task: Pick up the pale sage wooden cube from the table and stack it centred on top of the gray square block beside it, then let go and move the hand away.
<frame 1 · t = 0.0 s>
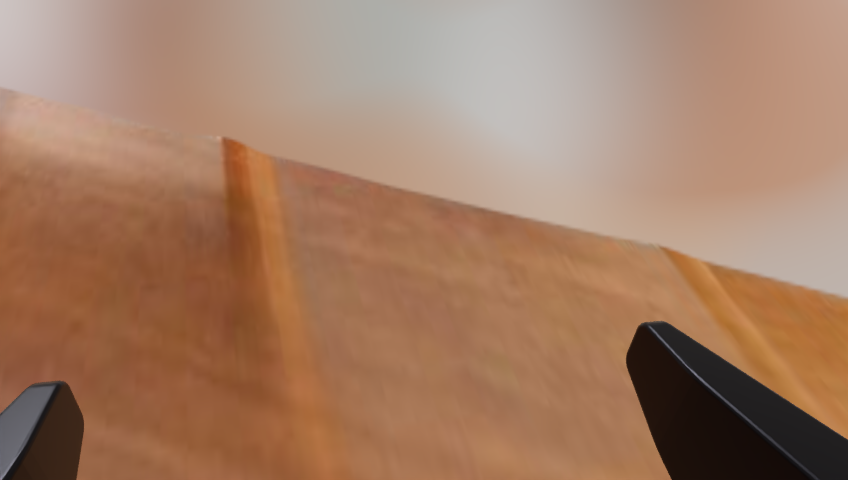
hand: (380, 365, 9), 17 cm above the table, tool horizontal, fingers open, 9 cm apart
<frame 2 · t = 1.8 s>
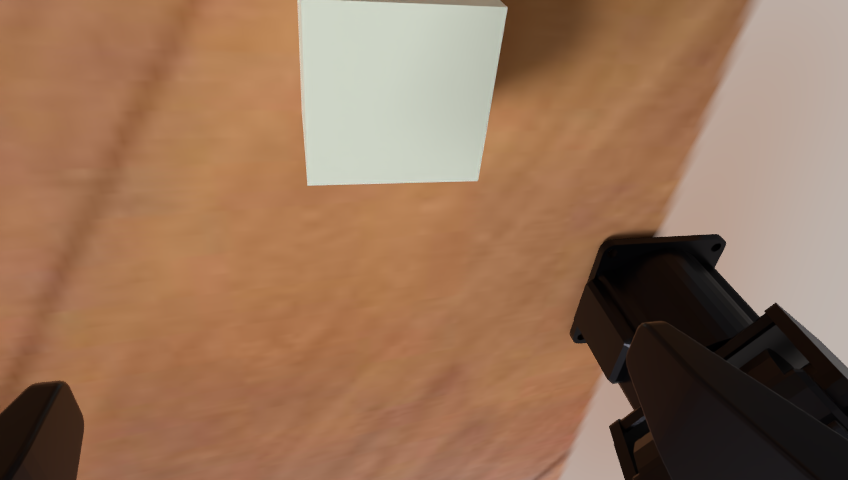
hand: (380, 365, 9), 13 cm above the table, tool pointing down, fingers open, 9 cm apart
sage cube: (376, 39, 19), on the table
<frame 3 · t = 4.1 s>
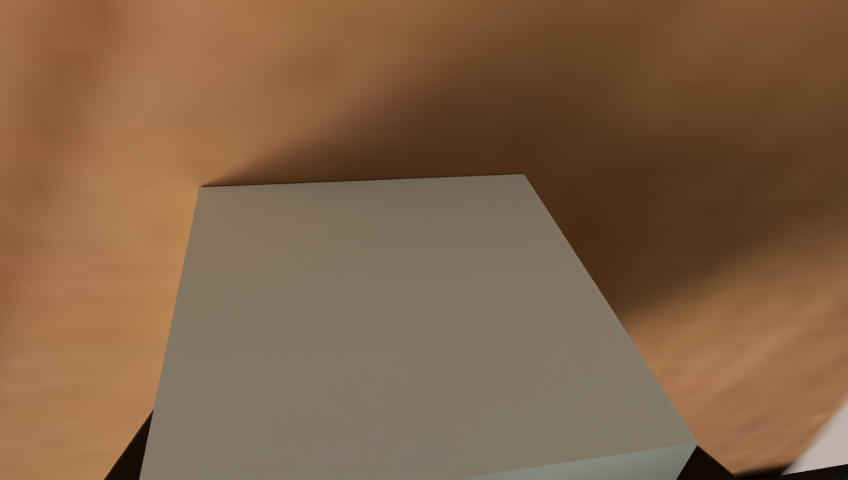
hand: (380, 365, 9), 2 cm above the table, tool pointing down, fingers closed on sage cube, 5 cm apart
sage cube: (368, 299, 10), on the table, touching gripper
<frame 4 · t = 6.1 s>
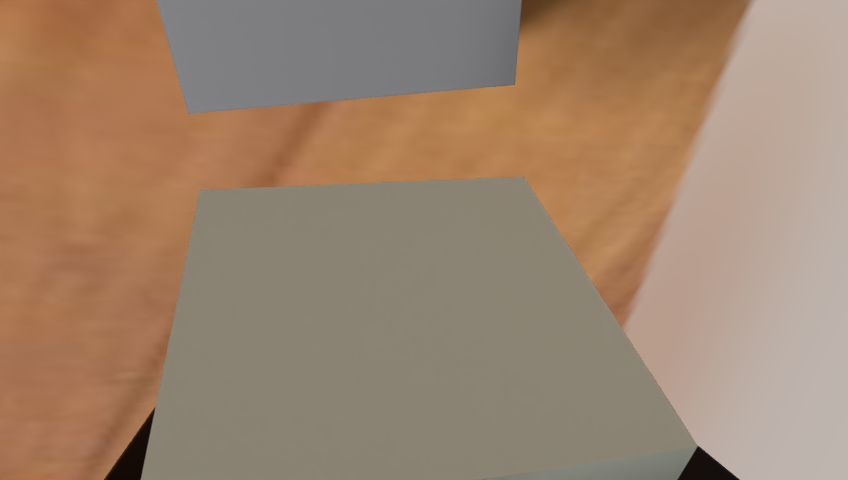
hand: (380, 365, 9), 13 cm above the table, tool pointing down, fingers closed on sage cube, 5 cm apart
sage cube: (368, 301, 10), point 11 cm above the table, touching gripper
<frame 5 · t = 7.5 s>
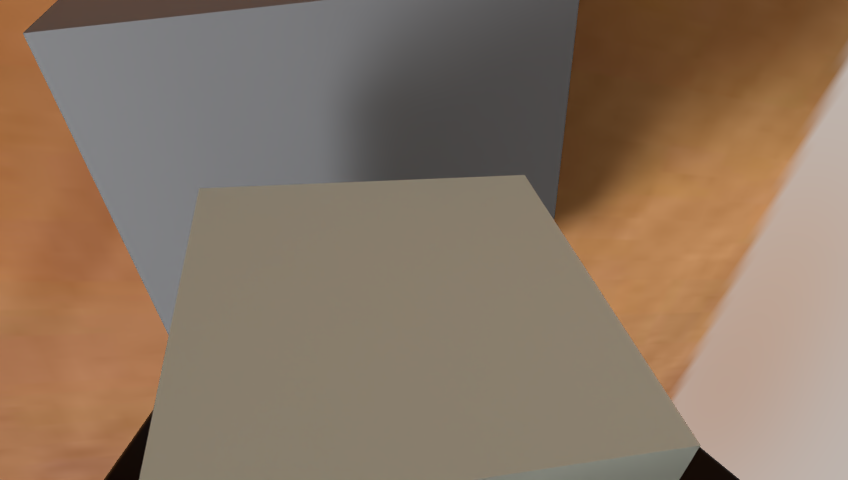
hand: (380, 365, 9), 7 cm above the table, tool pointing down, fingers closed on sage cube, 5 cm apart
gray square block: (338, 135, 15), on the table
sage cube: (368, 300, 10), point 6 cm above the table, touching gripper
when the fingers open (7 cm above the table, at t = 8.4 s): sage cube drops 2 cm, point 4 cm above the table.
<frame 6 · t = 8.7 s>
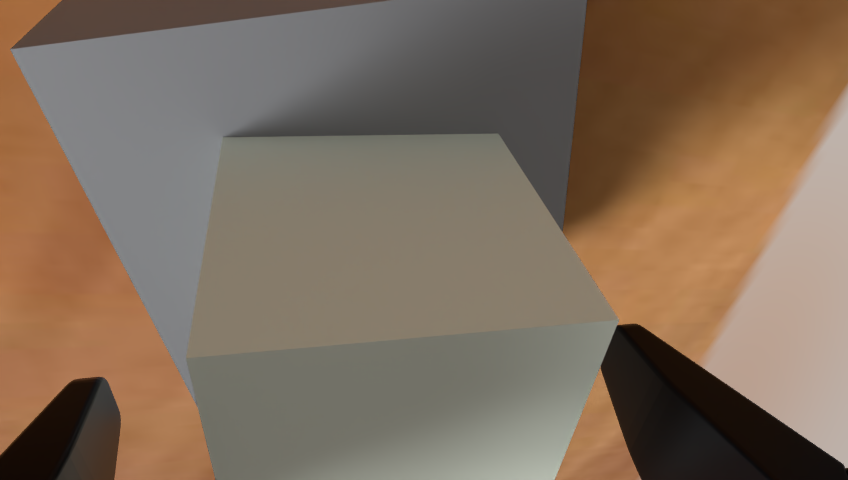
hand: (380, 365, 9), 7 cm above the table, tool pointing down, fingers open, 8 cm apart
gray square block: (340, 144, 15), on the table
sage cube: (364, 244, 12), point 4 cm above the table
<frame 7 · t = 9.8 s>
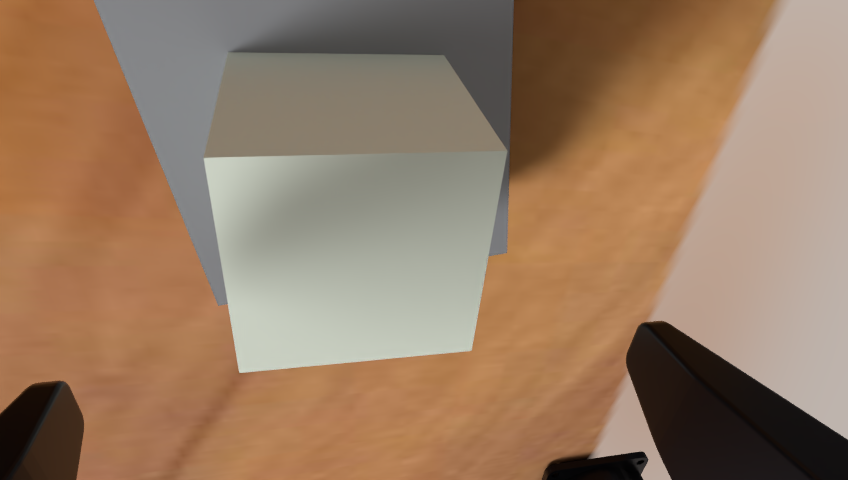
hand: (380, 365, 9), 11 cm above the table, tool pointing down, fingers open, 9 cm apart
gray square block: (333, 89, 18), on the table
sage cube: (340, 149, 15), point 4 cm above the table
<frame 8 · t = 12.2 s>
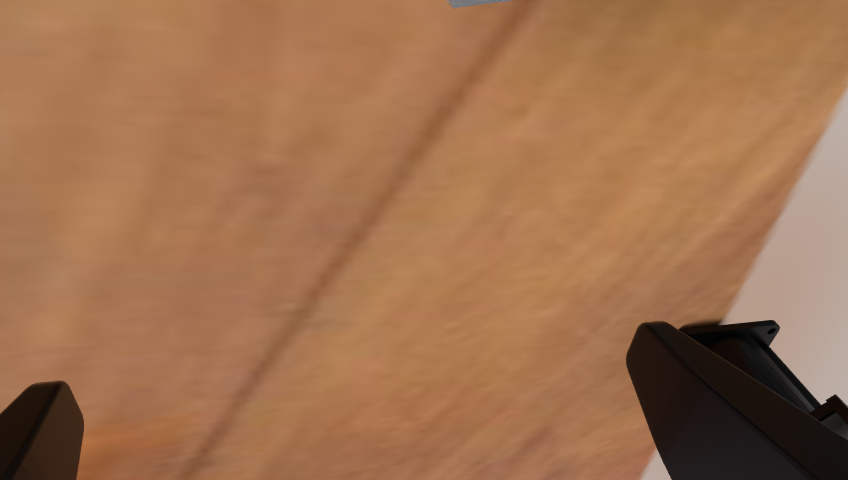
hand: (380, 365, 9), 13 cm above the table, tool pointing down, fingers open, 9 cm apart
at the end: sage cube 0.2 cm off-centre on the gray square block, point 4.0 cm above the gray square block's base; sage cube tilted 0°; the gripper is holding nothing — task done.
